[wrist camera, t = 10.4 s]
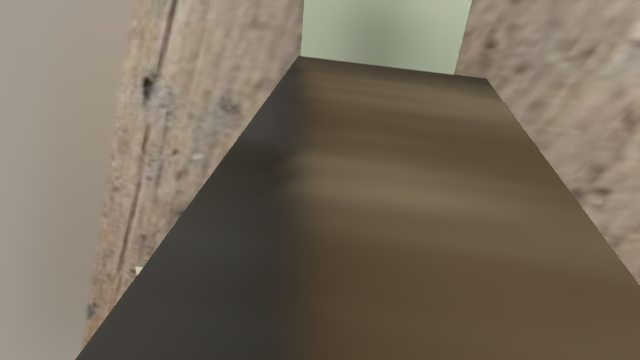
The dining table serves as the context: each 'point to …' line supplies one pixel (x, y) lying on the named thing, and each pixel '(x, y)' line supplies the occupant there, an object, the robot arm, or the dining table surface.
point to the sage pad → (386, 32)
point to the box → (379, 237)
